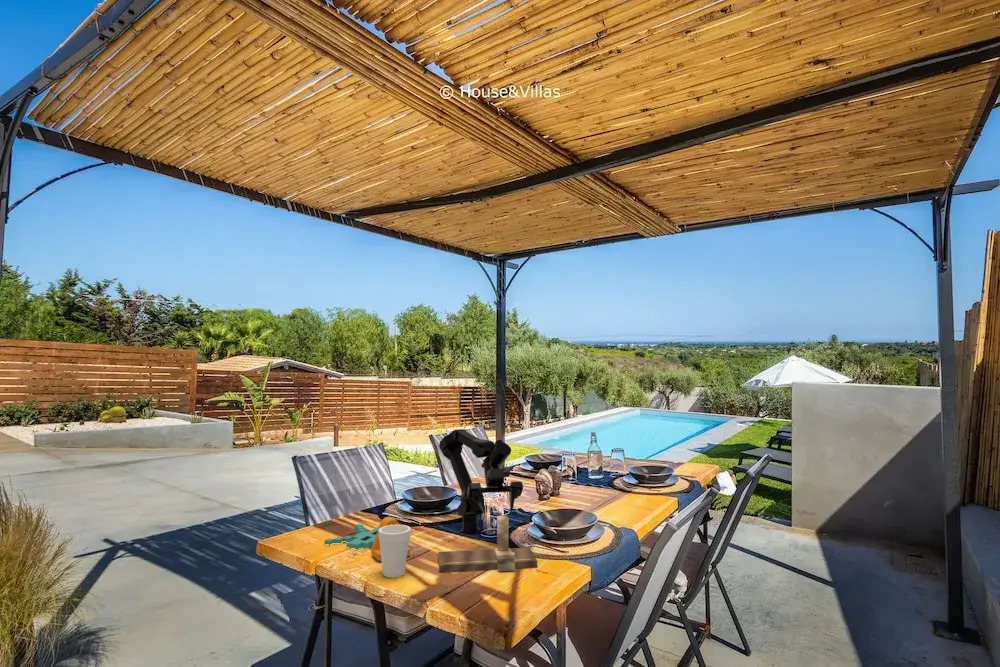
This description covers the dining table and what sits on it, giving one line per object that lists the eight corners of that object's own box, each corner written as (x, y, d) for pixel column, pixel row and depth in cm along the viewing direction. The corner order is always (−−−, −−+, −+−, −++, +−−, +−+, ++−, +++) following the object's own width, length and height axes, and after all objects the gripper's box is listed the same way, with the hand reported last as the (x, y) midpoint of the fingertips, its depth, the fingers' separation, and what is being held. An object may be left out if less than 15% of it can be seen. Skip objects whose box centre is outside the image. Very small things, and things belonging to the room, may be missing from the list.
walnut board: (439, 572, 159) (439, 565, 159) (438, 558, 171) (438, 551, 171) (537, 567, 164) (537, 560, 164) (529, 553, 175) (529, 547, 176)
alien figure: (324, 546, 183) (374, 553, 176) (324, 540, 183) (375, 547, 176) (357, 530, 202) (404, 535, 195) (358, 524, 202) (404, 529, 195)
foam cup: (371, 575, 157) (372, 530, 158) (393, 565, 165) (394, 522, 165) (394, 582, 152) (395, 536, 153) (416, 572, 159) (417, 528, 160)
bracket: (378, 564, 166) (379, 524, 167) (371, 556, 172) (371, 519, 173) (410, 557, 172) (411, 519, 173) (402, 550, 178) (403, 514, 179)
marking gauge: (498, 571, 160) (498, 524, 160) (494, 559, 170) (494, 515, 170) (514, 570, 160) (515, 524, 161) (509, 558, 170) (509, 515, 171)
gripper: (468, 459, 181) (473, 500, 169) (522, 457, 184) (530, 497, 173) (465, 477, 188) (469, 518, 176) (516, 476, 192) (524, 515, 180)
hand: (498, 512), depth 176 cm, fingers open, 9 cm apart
